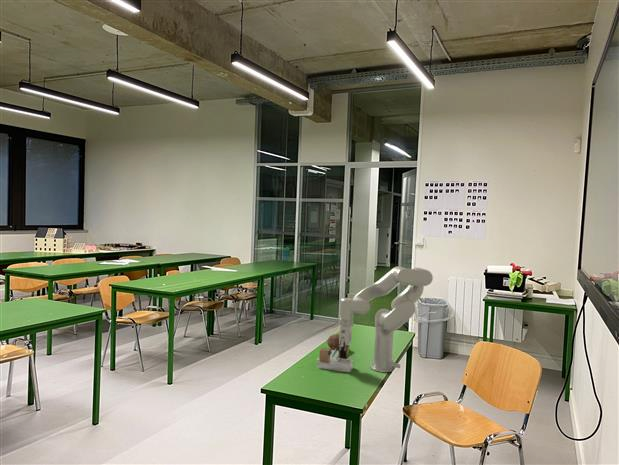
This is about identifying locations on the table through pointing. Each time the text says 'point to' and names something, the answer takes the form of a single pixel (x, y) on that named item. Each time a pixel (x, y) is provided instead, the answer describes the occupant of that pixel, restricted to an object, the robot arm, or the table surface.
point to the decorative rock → (333, 341)
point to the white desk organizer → (333, 362)
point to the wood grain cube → (346, 351)
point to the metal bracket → (332, 355)
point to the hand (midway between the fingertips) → (343, 356)
